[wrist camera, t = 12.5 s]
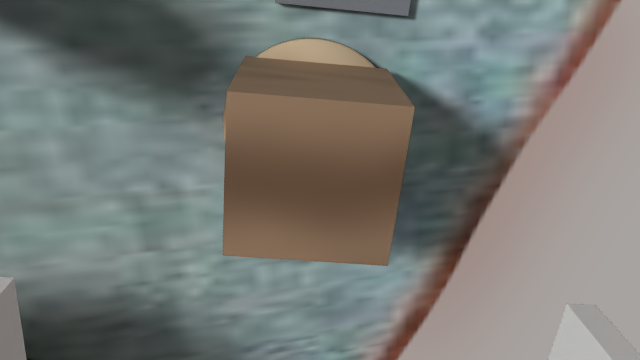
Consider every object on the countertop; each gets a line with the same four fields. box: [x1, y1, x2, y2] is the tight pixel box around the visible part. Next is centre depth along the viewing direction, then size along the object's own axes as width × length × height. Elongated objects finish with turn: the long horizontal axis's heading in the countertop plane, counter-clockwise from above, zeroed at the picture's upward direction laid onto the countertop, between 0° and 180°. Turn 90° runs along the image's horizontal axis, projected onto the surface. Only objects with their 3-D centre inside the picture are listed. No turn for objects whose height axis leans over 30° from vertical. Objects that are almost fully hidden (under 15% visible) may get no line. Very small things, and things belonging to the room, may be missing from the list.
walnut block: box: [223, 56, 415, 266], centre depth 24 cm, size 7×7×7 cm
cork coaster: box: [223, 38, 375, 139], centre depth 27 cm, size 9×9×1 cm
